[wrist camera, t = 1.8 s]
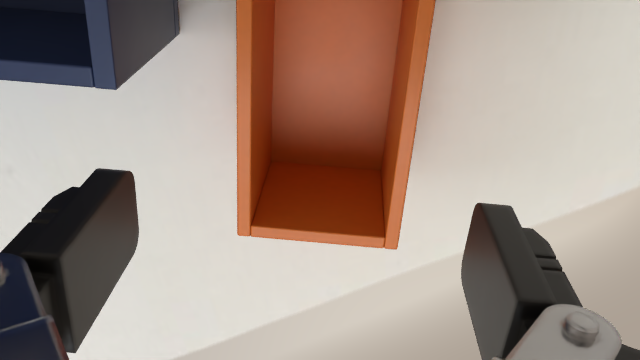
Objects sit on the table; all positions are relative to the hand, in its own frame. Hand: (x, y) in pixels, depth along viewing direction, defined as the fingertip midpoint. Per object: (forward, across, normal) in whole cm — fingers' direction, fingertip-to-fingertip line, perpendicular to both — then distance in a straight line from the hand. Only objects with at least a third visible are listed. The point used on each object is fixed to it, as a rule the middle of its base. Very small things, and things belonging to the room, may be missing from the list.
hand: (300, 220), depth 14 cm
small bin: (+12, 0, 0) cm, 12 cm away
